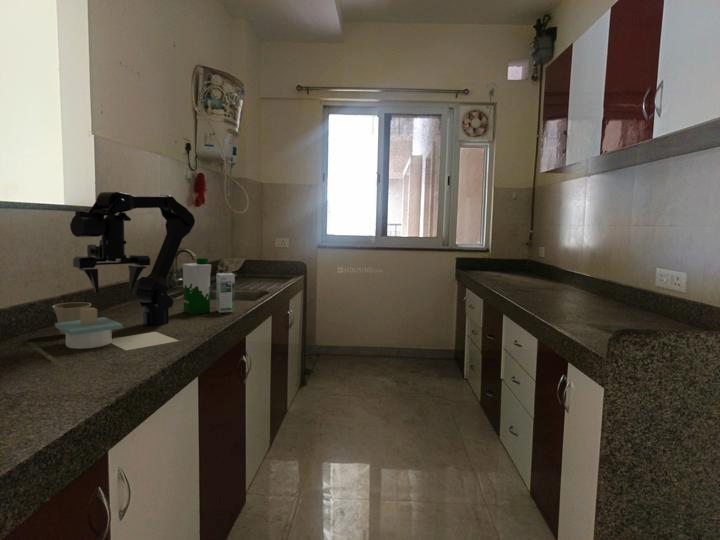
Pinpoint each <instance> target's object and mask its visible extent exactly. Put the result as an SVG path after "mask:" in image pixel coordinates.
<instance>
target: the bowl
mask: <svg viewBox="0 0 720 540" xmlns="http://www.w3.org/2000/svg"><path fill="white" fill-rule="evenodd" d="M112 330H113V329H112ZM112 330H105V331H98V332H91V333H84V334H77V335H69V334H67V333H66V334H65V346H66V347H67V348H69V349H81V350H82V349H92V348H94V349H95V348H101V347H104V346H107V345H110V344H111V343H110V342H111V341H112V339H113V337H112V335H113V334H112V332H113V331H112Z"/></svg>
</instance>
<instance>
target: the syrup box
mask: <svg viewBox="0 0 720 540" xmlns="http://www.w3.org/2000/svg"><path fill="white" fill-rule="evenodd" d="M235 276H236V275H235V273H234V272H221V273H220V272H218V273H216V311H217V312H218V313H219V314H222V313H235V311H236V307H235V306H236V305H235V304H236V303H235V301H236V300H235V299H236V298H235V297H236V296H235V293H236V292H235V290H236V289H235V284H236V283H235V281H236V277H235Z"/></svg>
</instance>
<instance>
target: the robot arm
mask: <svg viewBox="0 0 720 540" xmlns="http://www.w3.org/2000/svg"><path fill="white" fill-rule="evenodd" d="M152 208H153V209H154V208H155V209H159V210H160V212H161V216H162V217H163V218H164V219H165V220H166V222H165V230H166V234H165V237H164V240H163V243H162V245H161V247H160V250H159V253H158V254H157V257H156V260H155V262H154V264H153V267H152V269H151V271H150V273H149V274H148V276H141V277H140V275H141V273H142V271H143V270H144V269H147V266H151V264H152V262H151V257H150V256H149V255H147V254H146V255H144V254H130V255H129V257H127V255H126V252H125V249H126V248H125V246H126V245H127V240H125V222H130V221H132V218H131V217H130V216H128V215H127V214H126V212H129V211H132V210H134V209H152ZM74 212H75V213H74V216H73V217H72V219H71V222H70V223H69V226H70V231H71V234H72V235H73V236H74V237H76V238H93V237H100V240H99V246H98V245H96V244H87V246H86V252H87V256H84V255H83V256H75V257H73V259H72V266H73V268H76V269H77V268H78V270H80V271H81V272H82V271H84V273H85V274H86V276H87V278H88V279H89V281H90V283H91V286H92V288H93V290H94V293H95V294H99V290H100V289H99V287H100V285H99V269H98V268H96V266H104V265H126V264H127V267H128V270H129V276H128V277H129V278H128V287H129V291H133V289H134V287H135V285H136V283H137V280H138V278H139V277H140V278H139V281H138V284H137V286H136V287H135V289H136V292H135V296H136V297H137V300H138V301H139V303H140V306H141V307H143V308H144V311H143V313H142V314H143V315H142V319H143V320H142V322H143V323H142V324H143V325H144V326H146V327H158V326H165V325H167V324H170V322H169V319H170V317H169V313H170V312H169V309H170V308H172V307H173V305H174V300H173V299H172V297H171V296H169V294H168V290H169V285H168V276H169V274H170V271H171V268H172V266H173V263H174V260H175V258H176V256H177V254H178V253H177V252H178V250H179V249H180V246H181V243H182V241H183V239H184V238H185V237H186V236H187V235H189V234H190V233H191V231H192V229H193V228H194V227H195V223H196V218H195V216H194V214H193V212H191V211H190V210H189V209H188V208H187V207H186V206H184V205H182V204H181V203H180V202H179V201H177V200H176V198H175V197H173V196H172V195H170V194H169V195H168V194H167V195H162V194H160V195H155V196H154V195H142V196H141V195H133V194H130V193H125V192H121V191H103V192H100V193H99V194H98V195H97V197H96V201H95V202H94V204H93V205H92V207H91V208H90V209H89V210H88V211H84V210H83V211H82V210H81V211H80V210H75V211H74Z"/></svg>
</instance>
